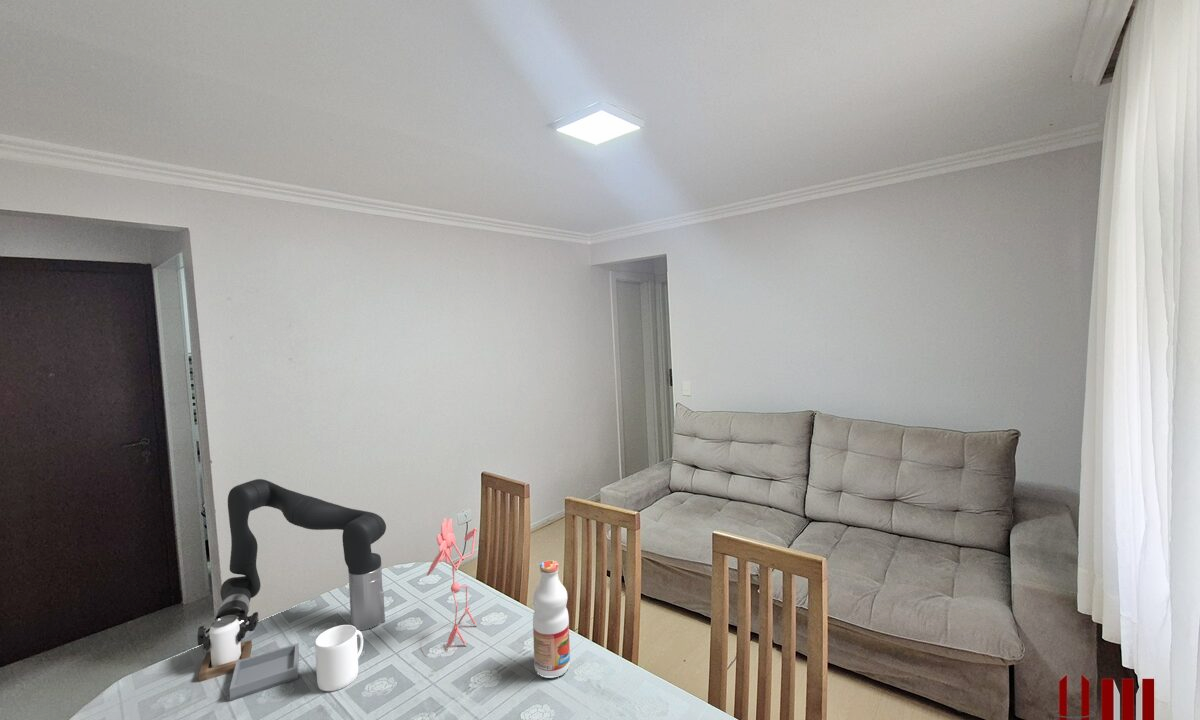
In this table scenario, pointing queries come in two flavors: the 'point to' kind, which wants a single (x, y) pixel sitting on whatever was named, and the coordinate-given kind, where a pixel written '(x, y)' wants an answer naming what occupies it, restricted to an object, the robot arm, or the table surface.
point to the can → (224, 640)
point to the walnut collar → (224, 668)
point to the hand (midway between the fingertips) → (223, 642)
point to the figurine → (445, 543)
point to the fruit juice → (550, 623)
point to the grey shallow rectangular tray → (265, 671)
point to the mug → (337, 657)
